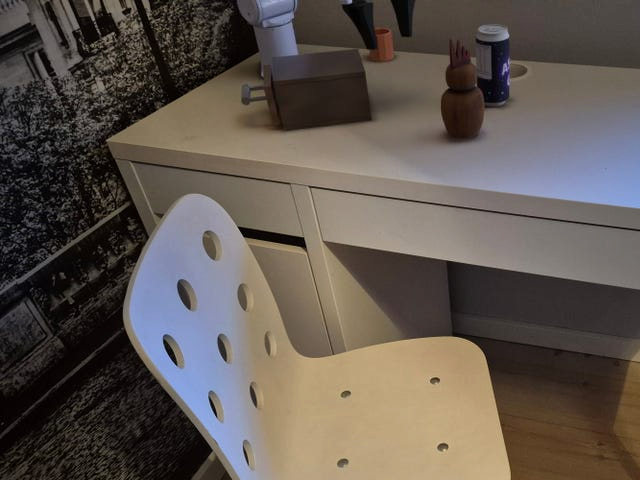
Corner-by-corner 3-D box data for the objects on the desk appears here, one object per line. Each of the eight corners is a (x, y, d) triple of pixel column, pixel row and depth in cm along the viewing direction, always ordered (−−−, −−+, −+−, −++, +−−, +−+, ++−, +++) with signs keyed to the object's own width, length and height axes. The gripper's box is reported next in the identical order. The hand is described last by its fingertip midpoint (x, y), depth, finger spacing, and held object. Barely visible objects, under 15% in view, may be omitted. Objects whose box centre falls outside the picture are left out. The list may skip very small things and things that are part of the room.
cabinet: (284, 130, 111) (273, 81, 105) (282, 104, 119) (272, 57, 114) (372, 120, 113) (365, 71, 107) (364, 95, 121) (358, 48, 116)
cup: (369, 55, 137) (365, 29, 134) (392, 52, 138) (389, 26, 135) (371, 62, 134) (368, 36, 131) (395, 60, 135) (392, 34, 131)
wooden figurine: (450, 146, 105) (445, 45, 95) (437, 132, 109) (431, 34, 99) (490, 137, 107) (488, 38, 97) (475, 124, 111) (473, 27, 101)
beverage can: (506, 108, 115) (506, 34, 107) (474, 107, 116) (472, 33, 108) (511, 96, 119) (512, 24, 111) (480, 94, 120) (479, 22, 112)
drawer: (246, 128, 110) (236, 89, 105) (247, 104, 117) (238, 67, 113) (354, 115, 112) (348, 77, 108) (348, 93, 120) (342, 56, 116)
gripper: (348, -45, 96) (371, 55, 104) (421, -63, 104) (437, 31, 112) (320, -42, 100) (344, 54, 108) (392, -60, 108) (409, 31, 116)
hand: (389, 42), depth 110 cm, fingers open, 7 cm apart
